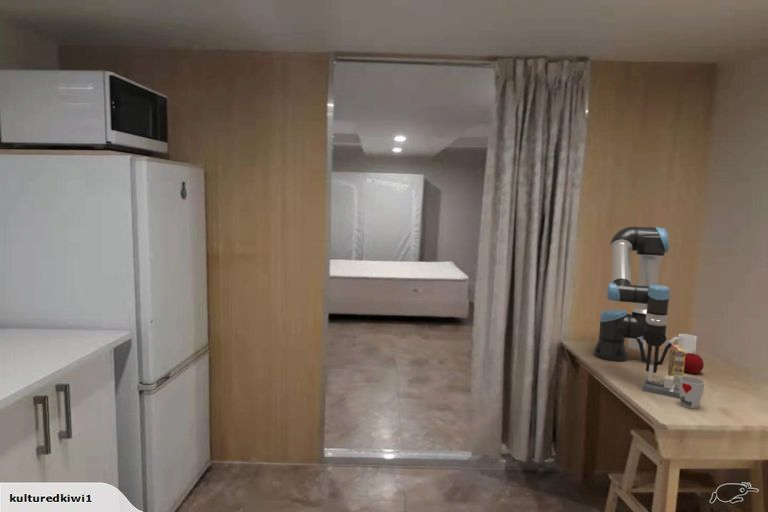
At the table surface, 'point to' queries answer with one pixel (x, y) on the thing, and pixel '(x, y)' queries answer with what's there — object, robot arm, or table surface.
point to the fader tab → (668, 382)
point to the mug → (686, 342)
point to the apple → (693, 363)
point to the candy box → (676, 363)
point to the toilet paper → (635, 344)
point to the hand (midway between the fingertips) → (650, 379)
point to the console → (660, 389)
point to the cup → (690, 391)
